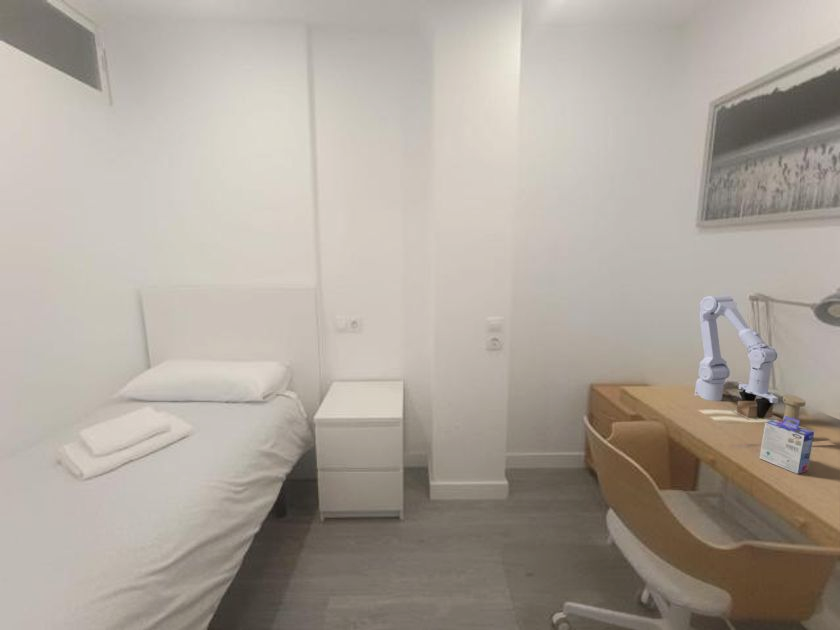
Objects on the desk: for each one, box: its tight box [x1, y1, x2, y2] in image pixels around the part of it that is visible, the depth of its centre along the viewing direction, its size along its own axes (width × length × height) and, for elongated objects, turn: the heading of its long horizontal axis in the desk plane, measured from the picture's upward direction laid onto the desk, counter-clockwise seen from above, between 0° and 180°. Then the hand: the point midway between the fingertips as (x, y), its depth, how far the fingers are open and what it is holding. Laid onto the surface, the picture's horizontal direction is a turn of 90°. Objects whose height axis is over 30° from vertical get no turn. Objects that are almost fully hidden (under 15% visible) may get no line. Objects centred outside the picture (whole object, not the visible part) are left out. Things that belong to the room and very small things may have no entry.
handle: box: [782, 394, 807, 424], centre depth 131 cm, size 5×6×15 cm
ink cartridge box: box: [759, 416, 815, 475], centre depth 118 cm, size 10×6×14 cm, turn 24°
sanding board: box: [697, 407, 783, 425], centre depth 149 cm, size 16×28×2 cm, turn 92°
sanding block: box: [736, 400, 774, 418], centre depth 149 cm, size 5×9×4 cm, turn 92°
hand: (754, 413), depth 149 cm, fingers closed on sanding block, 5 cm apart
